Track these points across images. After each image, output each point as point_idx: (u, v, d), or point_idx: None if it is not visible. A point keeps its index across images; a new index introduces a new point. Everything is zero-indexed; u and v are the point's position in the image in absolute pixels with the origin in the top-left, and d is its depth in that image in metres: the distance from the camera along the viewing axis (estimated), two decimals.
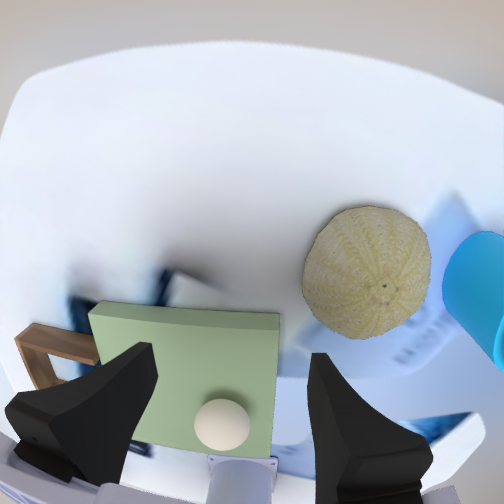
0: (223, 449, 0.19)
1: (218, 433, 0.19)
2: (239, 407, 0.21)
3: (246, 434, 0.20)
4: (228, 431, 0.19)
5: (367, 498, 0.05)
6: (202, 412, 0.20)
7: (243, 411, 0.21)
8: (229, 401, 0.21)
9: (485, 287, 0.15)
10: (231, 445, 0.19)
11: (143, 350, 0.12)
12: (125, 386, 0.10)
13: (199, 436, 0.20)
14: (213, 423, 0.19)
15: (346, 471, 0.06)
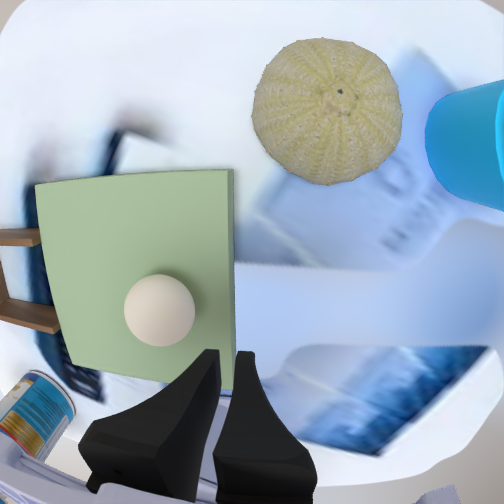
0: (154, 338, 0.16)
1: (146, 307, 0.16)
2: (180, 283, 0.18)
3: (186, 318, 0.17)
4: (159, 305, 0.16)
5: (247, 503, 0.06)
6: (133, 285, 0.17)
7: (185, 288, 0.18)
8: (168, 276, 0.18)
9: (468, 110, 0.12)
10: (164, 330, 0.16)
11: (215, 358, 0.12)
12: (202, 398, 0.10)
13: (126, 318, 0.16)
14: (142, 293, 0.16)
15: (216, 469, 0.06)
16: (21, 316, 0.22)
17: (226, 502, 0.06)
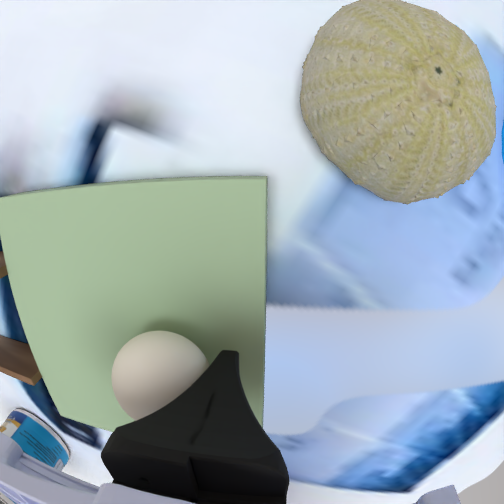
0: None
1: (139, 386, 0.10)
2: (192, 346, 0.12)
3: None
4: (158, 385, 0.10)
5: (220, 501, 0.06)
6: (123, 347, 0.11)
7: (198, 355, 0.12)
8: (175, 334, 0.12)
9: None
10: None
11: (233, 359, 0.12)
12: None
13: (114, 393, 0.10)
14: (133, 365, 0.10)
15: None
16: None
17: (200, 499, 0.06)
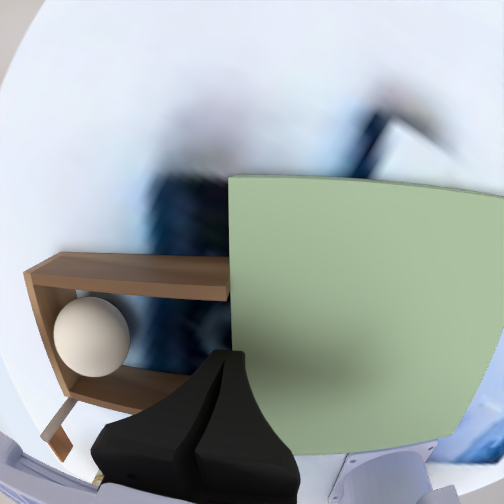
0: None
1: None
2: (58, 315, 0.13)
3: None
4: None
5: (231, 502, 0.06)
6: (104, 317, 0.13)
7: None
8: (62, 319, 0.13)
9: None
10: None
11: (225, 359, 0.12)
12: (213, 399, 0.10)
13: None
14: (101, 300, 0.14)
15: (200, 467, 0.06)
16: (146, 402, 0.15)
17: (210, 500, 0.06)
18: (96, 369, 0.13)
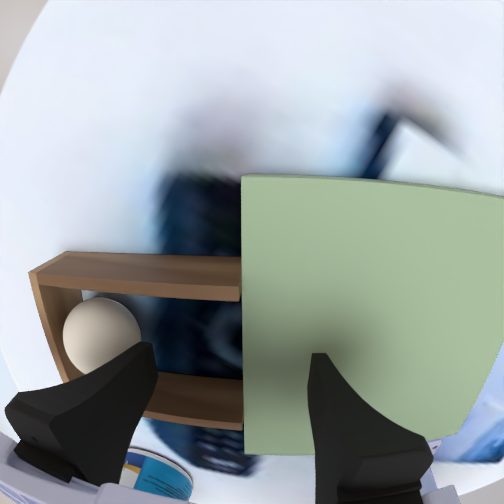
0: None
1: None
2: (67, 319, 0.13)
3: None
4: None
5: (367, 498, 0.05)
6: (118, 317, 0.14)
7: (66, 319, 0.13)
8: (74, 322, 0.13)
9: None
10: None
11: (143, 350, 0.12)
12: (125, 386, 0.10)
13: None
14: (111, 300, 0.14)
15: (346, 471, 0.06)
16: (154, 403, 0.14)
17: (347, 502, 0.05)
18: None
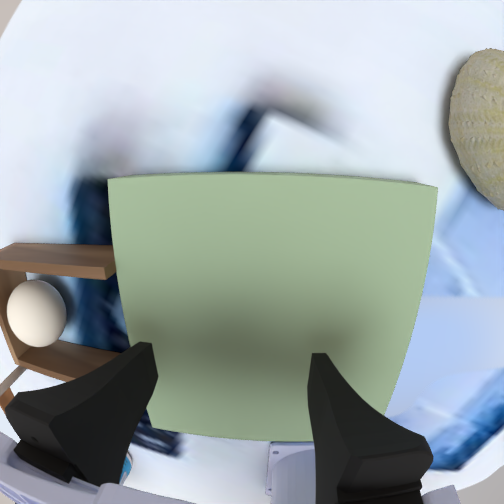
0: None
1: None
2: (10, 296, 0.14)
3: None
4: None
5: (367, 498, 0.05)
6: (45, 293, 0.15)
7: None
8: (13, 298, 0.14)
9: None
10: None
11: (143, 350, 0.12)
12: (125, 386, 0.10)
13: (63, 301, 0.17)
14: (42, 281, 0.16)
15: (346, 471, 0.06)
16: (72, 370, 0.16)
17: (347, 502, 0.05)
18: (41, 337, 0.14)
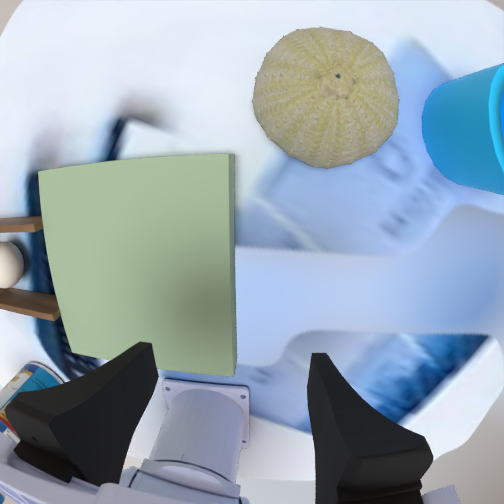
0: None
1: None
2: None
3: None
4: None
5: (367, 498, 0.05)
6: (10, 248, 0.21)
7: None
8: None
9: (462, 95, 0.12)
10: None
11: (143, 350, 0.12)
12: (125, 386, 0.10)
13: None
14: None
15: (346, 471, 0.06)
16: (21, 304, 0.22)
17: (347, 502, 0.05)
18: (6, 278, 0.20)
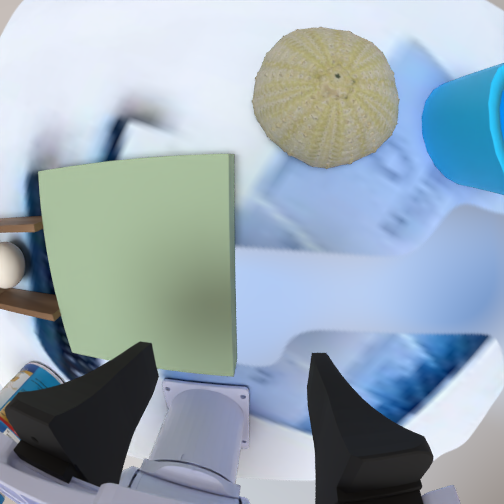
0: None
1: None
2: None
3: None
4: None
5: (367, 498, 0.05)
6: (12, 248, 0.21)
7: None
8: None
9: (462, 94, 0.12)
10: None
11: (143, 350, 0.12)
12: (125, 386, 0.10)
13: None
14: None
15: (346, 471, 0.06)
16: (21, 304, 0.22)
17: (347, 502, 0.05)
18: (9, 278, 0.21)
